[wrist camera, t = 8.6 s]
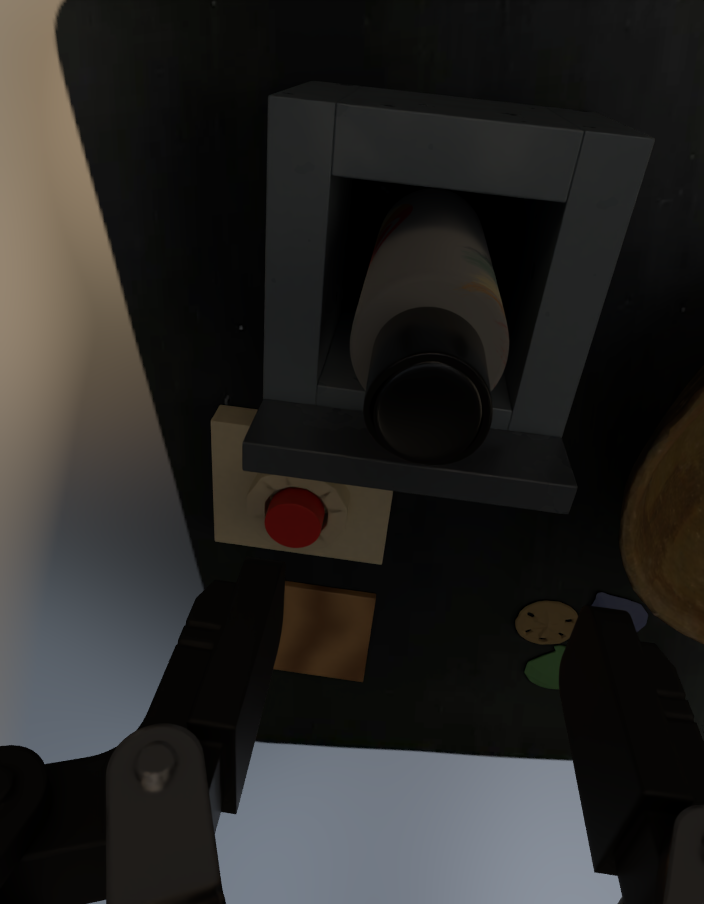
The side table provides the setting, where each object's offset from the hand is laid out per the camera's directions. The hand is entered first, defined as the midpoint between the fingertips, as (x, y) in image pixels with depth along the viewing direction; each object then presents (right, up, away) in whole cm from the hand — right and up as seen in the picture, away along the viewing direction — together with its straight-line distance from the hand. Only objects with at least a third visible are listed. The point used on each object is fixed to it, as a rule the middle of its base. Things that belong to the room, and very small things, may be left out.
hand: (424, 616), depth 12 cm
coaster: (-5, -11, +41) cm, 42 cm away
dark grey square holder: (+3, +15, +23) cm, 28 cm away
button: (-5, -1, +30) cm, 30 cm away
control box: (-5, +1, +33) cm, 33 cm away
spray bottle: (+3, +15, +23) cm, 28 cm away
